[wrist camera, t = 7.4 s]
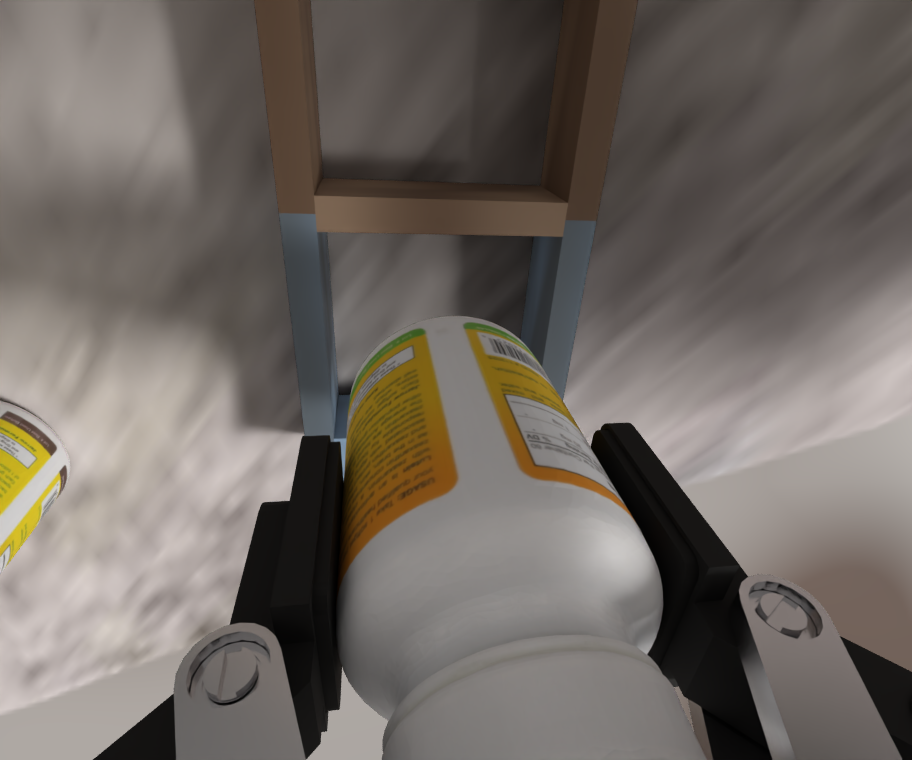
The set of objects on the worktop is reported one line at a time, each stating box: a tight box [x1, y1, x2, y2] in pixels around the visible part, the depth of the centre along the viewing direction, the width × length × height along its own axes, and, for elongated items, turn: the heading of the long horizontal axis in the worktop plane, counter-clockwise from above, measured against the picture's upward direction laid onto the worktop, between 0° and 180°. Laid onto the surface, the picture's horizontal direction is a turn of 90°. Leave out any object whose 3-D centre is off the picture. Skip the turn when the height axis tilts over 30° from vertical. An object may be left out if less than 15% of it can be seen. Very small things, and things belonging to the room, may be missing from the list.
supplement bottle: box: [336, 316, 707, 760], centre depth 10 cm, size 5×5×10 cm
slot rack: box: [254, 0, 638, 481], centre depth 16 cm, size 9×20×3 cm, turn 177°
